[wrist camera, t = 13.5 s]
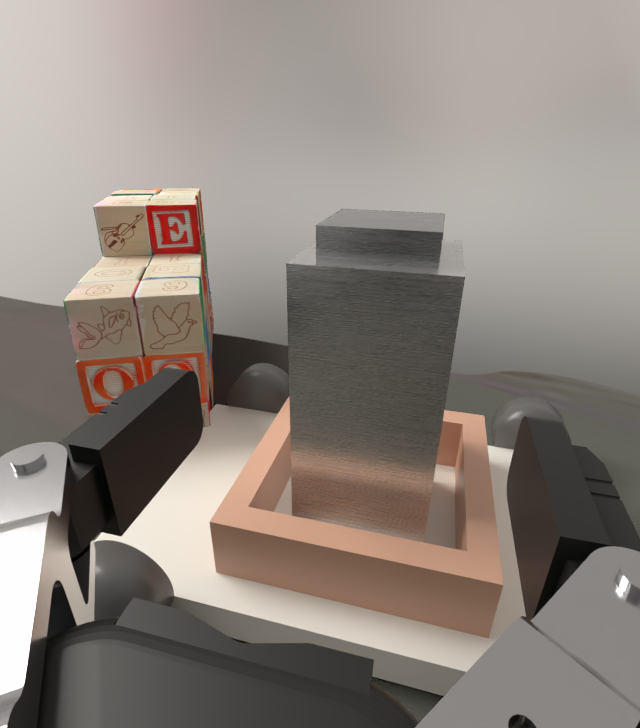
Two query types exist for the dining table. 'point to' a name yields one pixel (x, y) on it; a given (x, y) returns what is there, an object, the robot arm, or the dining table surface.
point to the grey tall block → (371, 367)
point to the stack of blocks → (144, 297)
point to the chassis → (327, 546)
